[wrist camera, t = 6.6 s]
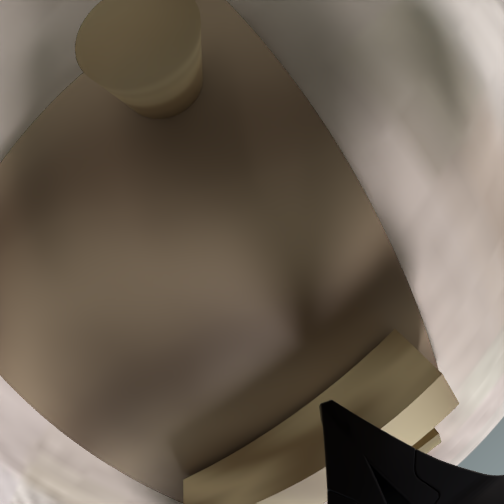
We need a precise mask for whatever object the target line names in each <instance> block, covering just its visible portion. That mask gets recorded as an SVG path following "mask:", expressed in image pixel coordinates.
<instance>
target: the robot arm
mask: <svg viewBox="0 0 504 504" xmlns="http://www.w3.org/2000/svg"><path fill="white" fill-rule="evenodd" d="M319 408H320V418H321V423H322V425H323V437H324V449H325V463H326V479H327V501H328V504H504V475H499V476H496V475H487V474H482V473H478V472H475V471H471V470H468V469H464V468H461V467H458V466H455V465H452V464H449V463H446V462H444V461H441V460H438V459H436V458H434V457H432V456H430V455H428V454H425V453H424V452H422V451H420V450H418V449H416V450H415V448H414V447H412V446H410V445H408V444H406V443H405V442H403V441H401V440H399V439H397V438H396V437H394V436H392V435H390V434H388V433H387V432H385V431H383V430H381V429H380V428H378V427H376V426H374V425H373V424H371V423H369V422H368V421H366V420H364V419H363V418H361V417H359V416H358V415H356V414H354V413H353V412H351V411H349V410H348V409H346V408H345V407H343V406H341V405H340V404H338V403H337V402H335V401H333V400H329V401H326V402H323V403H321V404H320V406H319Z"/></svg>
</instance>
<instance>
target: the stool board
mask: <svg viewBox="0 0 504 504" xmlns="http://www.w3.org/2000/svg"><path fill="white" fill-rule="evenodd" d="M75 54H76V59H77V62H78V65H79V66H80V68H81V70H82V71H83V73H82V74H81V75H80V76H79V77H78V78H76V79H75V80H74V81H73V82H72V83H71V84H70V85H69V86H68V87H67V88H66V89H65V90H64V91H63V92H62V93H60V94H59V95H58V96H57V97H56V98H55V99H54V100H53V101H52V102H51V104H50V105H49V106H48V107H47V108H46V109H45V110H44V111H43V112H42V113H41V114H40V115H39V116H38V117H37V118H36V120H35V121H34V122H33V123H32V124H31V125H30V126H29V128H28V129H27V130H26V131H25V132H24V133H23V135H22V136H21V137H20V138H19V140H18V141H17V142H16V143H15V145H14V146H13V147H12V148H11V150H10V151H9V152H8V154H7V155H6V156H5V158H4V159H3V160H2V162H1V163H0V375H1V376H2V378H3V379H4V380H5V381H6V382H7V383H8V384H9V385H10V386H11V387H12V388H13V389H14V390H15V391H16V392H17V393H18V394H19V395H20V396H21V397H22V398H23V399H24V400H25V401H26V402H27V403H28V404H30V405H31V406H32V407H33V408H34V409H35V410H36V411H37V412H38V413H40V414H41V415H42V416H43V417H44V418H45V419H47V420H48V421H49V422H50V423H51V424H53V425H54V426H55V427H56V428H57V429H59V430H60V431H61V432H63V433H64V434H65V435H66V436H68V437H69V438H70V439H72V440H73V441H74V442H76V443H77V444H79V445H80V446H81V447H83V448H84V449H86V450H87V451H88V452H90V453H91V454H93V455H94V456H96V457H97V458H99V459H100V460H102V461H104V462H105V463H107V464H108V465H110V466H112V467H113V468H115V469H117V470H118V471H120V472H122V473H123V474H125V475H127V476H129V477H130V478H132V479H134V480H136V481H138V482H140V483H141V484H143V485H145V486H147V487H149V488H151V489H153V490H155V491H157V492H159V493H161V494H164V495H166V496H168V497H170V498H172V499H175V500H177V501H179V502H182V503H183V480H184V479H186V478H188V477H190V476H192V475H194V474H196V473H198V472H200V471H202V470H204V469H206V468H208V467H209V466H211V465H213V464H215V463H217V462H219V461H220V460H222V459H224V458H226V457H228V456H229V455H231V454H233V453H235V452H236V451H238V450H240V449H241V448H243V447H245V446H246V445H248V444H250V443H251V442H253V441H255V440H256V439H258V438H259V437H261V436H262V435H264V434H266V433H267V432H269V431H270V430H272V429H273V428H275V427H276V426H278V425H279V424H281V423H282V422H283V421H285V420H286V419H288V418H289V417H291V416H292V415H293V414H295V413H296V412H298V411H299V410H300V409H302V408H303V407H304V406H306V405H307V404H309V403H310V402H311V401H312V400H314V399H315V398H316V397H318V396H319V395H320V394H322V393H323V392H324V391H325V390H327V389H328V388H329V387H330V386H332V385H333V384H334V383H335V382H337V381H338V380H339V379H340V378H341V377H343V376H344V375H345V374H346V373H347V372H349V371H350V370H351V369H352V368H353V367H354V366H356V365H357V364H358V363H359V362H360V361H361V360H362V359H363V358H365V357H366V356H367V355H368V354H369V353H370V352H371V351H372V350H373V349H374V348H376V347H377V346H378V345H379V344H380V343H381V342H382V341H383V340H384V339H385V338H386V337H387V336H388V335H389V334H390V333H391V332H392V331H393V330H394V329H396V330H397V331H398V332H399V333H400V334H401V335H402V336H403V337H404V338H405V339H406V340H408V341H409V342H410V343H411V344H412V345H413V346H414V347H415V348H416V349H417V350H418V351H419V352H420V353H421V354H422V355H423V356H424V357H425V358H426V359H427V360H428V361H429V362H431V363H432V364H433V365H434V366H435V367H436V368H437V369H438V367H437V363H436V360H435V357H434V353H433V350H432V347H431V344H430V341H429V338H428V335H427V332H426V329H425V326H424V323H423V321H422V318H421V315H420V312H419V310H418V307H417V304H416V302H415V299H414V297H413V294H412V292H411V289H410V287H409V284H408V282H407V279H406V277H405V275H404V272H403V270H402V268H401V265H400V263H399V261H398V258H397V256H396V254H395V252H394V250H393V247H392V245H391V243H390V241H389V239H388V237H387V235H386V233H385V231H384V228H383V226H382V224H381V222H380V220H379V218H378V216H377V214H376V212H375V211H374V209H373V207H372V205H371V203H370V201H369V199H368V197H367V195H366V193H365V192H364V190H363V188H362V186H361V184H360V182H359V181H358V179H357V177H356V175H355V174H354V172H353V170H352V168H351V167H350V165H349V163H348V162H347V160H346V158H345V157H344V155H343V153H342V152H341V150H340V148H339V147H338V145H337V143H336V142H335V140H334V139H333V137H332V135H331V134H330V132H329V131H328V129H327V128H326V126H325V125H324V123H323V121H322V120H321V118H320V117H319V115H318V114H317V113H316V111H315V110H314V108H313V107H312V105H311V104H310V102H309V101H308V99H307V98H306V97H305V95H304V94H303V92H302V91H301V90H300V88H299V87H298V85H297V84H296V83H295V81H294V80H293V79H292V77H291V76H290V75H289V73H288V72H287V71H286V69H285V68H284V67H283V66H282V64H281V63H280V62H279V60H278V59H277V58H276V57H275V55H274V54H273V53H272V52H271V50H270V49H269V48H268V47H267V46H266V44H265V43H264V42H263V41H262V40H261V38H260V37H259V36H258V35H257V34H256V33H255V31H254V30H253V29H252V28H251V27H250V26H249V25H248V23H247V22H246V21H245V20H244V19H243V18H242V17H241V16H240V15H239V14H238V12H237V11H236V10H235V9H234V8H233V7H232V6H231V5H230V4H229V3H228V2H227V1H226V0H102V1H101V2H100V3H99V4H97V5H96V6H95V7H94V8H93V9H92V10H91V12H90V13H89V14H88V15H87V17H86V18H85V19H84V21H83V23H82V25H81V27H80V29H79V31H78V34H77V38H76V43H75ZM439 443H441V439H440V436H439V433H438V432H437V431H436V429H435V428H433V429H432V430H431V431H429V432H428V433H427V434H426V435H425V436H424V437H422V438H421V439H420V440H419V441H418V442H416V443H415V444H414V445H413V446H412V447H414V448H415V450H416V449H418V450H420V451H422V452H424V453H425V454H427V453H428V452H429V451H430V450H432V449H433V448H434V447H436V446H437V445H438V444H439Z"/></svg>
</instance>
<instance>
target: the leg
mask: <svg viewBox="0 0 504 504" xmlns="http://www.w3.org/2000/svg"><path fill="white" fill-rule="evenodd" d="M329 400H333V401H335V402H337V403H338V404H340V405H341V406H343V407H345V408H346V409H348V410H349V411H351V412H353V413H354V414H356V415H358V416H359V417H361V418H363V419H364V420H366V421H368V422H369V423H371V424H373V425H374V426H376V427H378V428H380V429H381V430H383V431H385V432H387V433H388V434H390V435H392V436H394V437H396V438H397V439H399V440H401V441H403V442H405V443H406V444H408V445H410V446H413V445H414V444H415V443H416V442H418V441H419V440H420V439H421V438H422V437H424V436H425V435H426V434H427V433H428V432H429V431H431V430H432V429H433V428H434V427H435V426H436V425H437V424H439V423H440V422H441V421H442V420H443V419H444V418H445V417H446V416H447V415H448V414H449V413H450V412H451V411H452V410H453V409H454V408H455V407H456V406H457V405H458V404H459V402H458V401H457V399H456V397H455V395H454V393H453V392H452V390H451V388H450V386H449V385H448V383H447V381H446V380H445V378H444V376H443V374H442V373H441V372H440V371H439V370H438V369H437V368H436V367H435V366H434V365H433V364H432V363H431V362H429V361H428V360H427V359H426V358H425V357H424V356H423V355H422V354H421V353H420V352H419V351H418V350H417V349H416V348H415V347H414V346H413V345H412V344H411V343H410V342H409V341H408V340H406V339H405V338H404V337H403V336H402V335H401V334H400V333H399V332H398V331H397V330H396V329H394V330H393V331H392V332H391V333H390V334H389V335H388V336H387V337H386V338H385V339H384V340H383V341H382V342H381V343H380V344H379V345H378V346H377V347H376V348H374V349H373V350H372V351H371V352H370V353H369V354H368V355H367V356H366V357H365V358H363V359H362V360H361V361H360V362H359V363H358V364H357V365H356V366H354V367H353V368H352V369H351V370H350V371H349V372H347V373H346V374H345V375H344V376H343V377H341V378H340V379H339V380H338V381H337V382H335V383H334V384H333V385H332V386H330V387H329V388H328V389H327V390H325V391H324V392H323V393H322V394H320V395H319V396H318V397H316V398H315V399H314V400H312V401H311V402H310V403H309V404H307V405H306V406H304V407H303V408H302V409H300V410H299V411H298V412H296V413H295V414H293V415H292V416H291V417H289V418H288V419H286V420H285V421H283V422H282V423H281V424H279V425H278V426H276V427H275V428H273V429H272V430H270V431H269V432H267V433H266V434H264V435H262V436H261V437H259V438H258V439H256V440H255V441H253V442H251V443H250V444H248V445H246V446H245V447H243V448H241V449H240V450H238V451H236V452H235V453H233V454H231V455H229V456H228V457H226V458H224V459H222V460H220V461H219V462H217V463H215V464H213V465H211V466H209V467H208V468H206V469H204V470H202V471H200V472H198V473H196V474H194V475H192V476H190V477H188V478H186V479H184V480H183V504H323V503H325V502H327V479H326V463H325V449H324V437H323V425H322V423H321V418H320V408H319V406H320V404H321V403H323V402H326V401H329Z"/></svg>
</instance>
